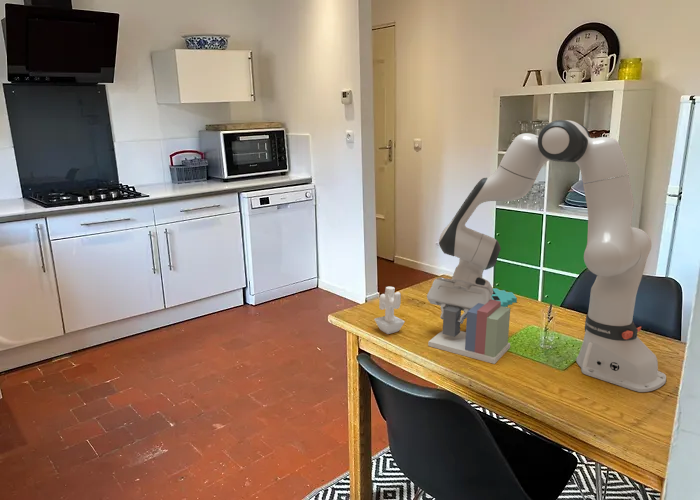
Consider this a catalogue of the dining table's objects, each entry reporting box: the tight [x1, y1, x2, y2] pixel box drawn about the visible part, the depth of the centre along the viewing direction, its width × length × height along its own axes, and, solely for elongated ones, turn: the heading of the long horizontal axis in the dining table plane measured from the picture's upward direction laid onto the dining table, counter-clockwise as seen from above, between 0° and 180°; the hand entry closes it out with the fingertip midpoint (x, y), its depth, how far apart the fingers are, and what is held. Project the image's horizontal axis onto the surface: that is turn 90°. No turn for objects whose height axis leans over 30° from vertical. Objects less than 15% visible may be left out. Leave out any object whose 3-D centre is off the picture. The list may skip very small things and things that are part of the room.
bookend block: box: [442, 306, 462, 337], centre depth 163 cm, size 4×4×8 cm
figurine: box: [373, 286, 406, 335], centre depth 172 cm, size 7×9×15 cm
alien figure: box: [491, 287, 518, 308], centre depth 202 cm, size 20×2×20 cm
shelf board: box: [427, 300, 511, 365], centre depth 160 cm, size 21×13×14 cm, turn 55°
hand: (451, 320), depth 163 cm, fingers closed on bookend block, 4 cm apart
